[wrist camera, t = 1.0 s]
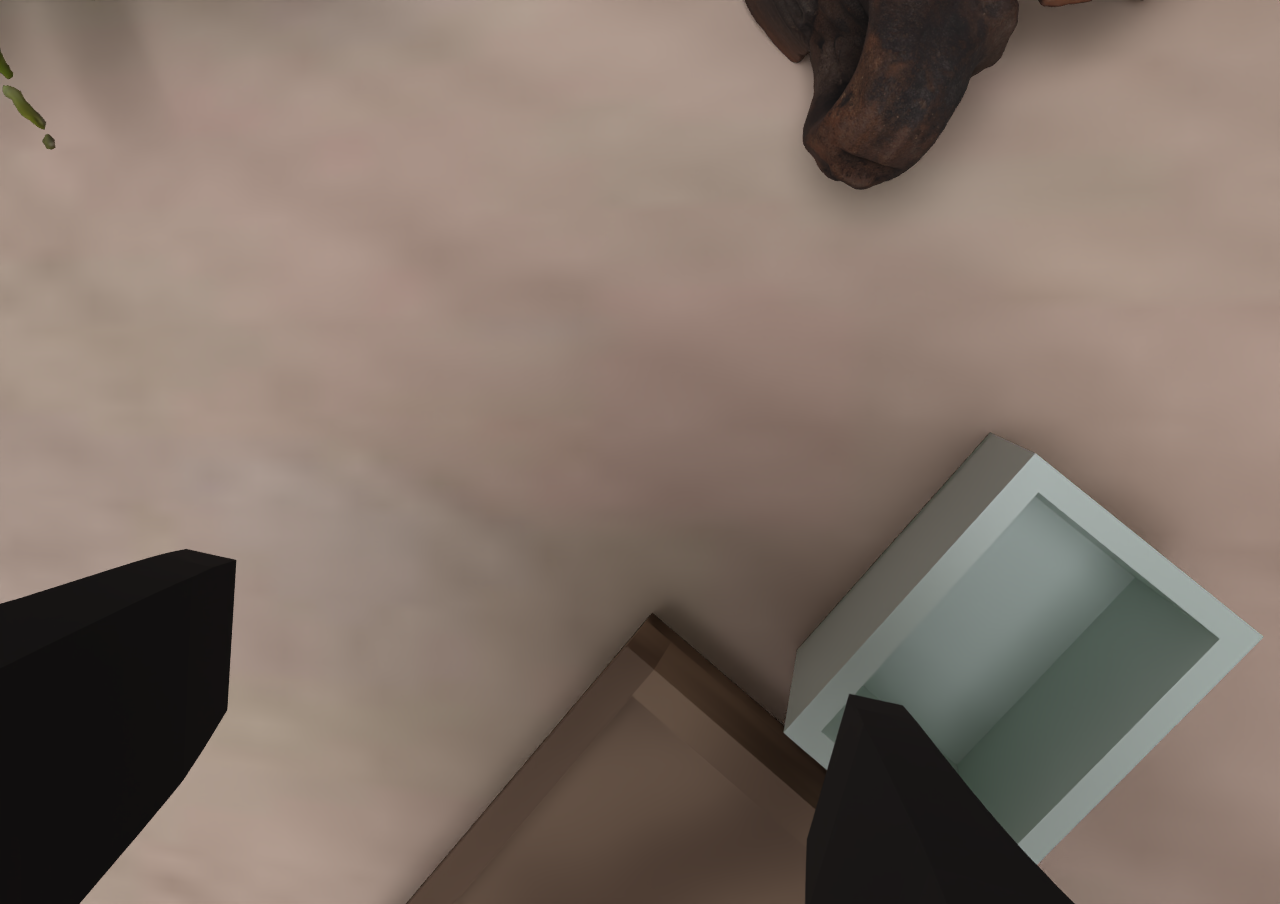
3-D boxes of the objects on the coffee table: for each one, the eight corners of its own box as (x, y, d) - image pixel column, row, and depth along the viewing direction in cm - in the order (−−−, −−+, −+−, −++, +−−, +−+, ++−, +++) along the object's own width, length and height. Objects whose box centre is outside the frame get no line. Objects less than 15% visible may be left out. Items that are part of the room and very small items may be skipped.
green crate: (1162, 571, 24) (1264, 637, 18) (956, 785, 26) (990, 911, 20) (989, 432, 25) (1035, 453, 19) (797, 650, 26) (783, 732, 20)
